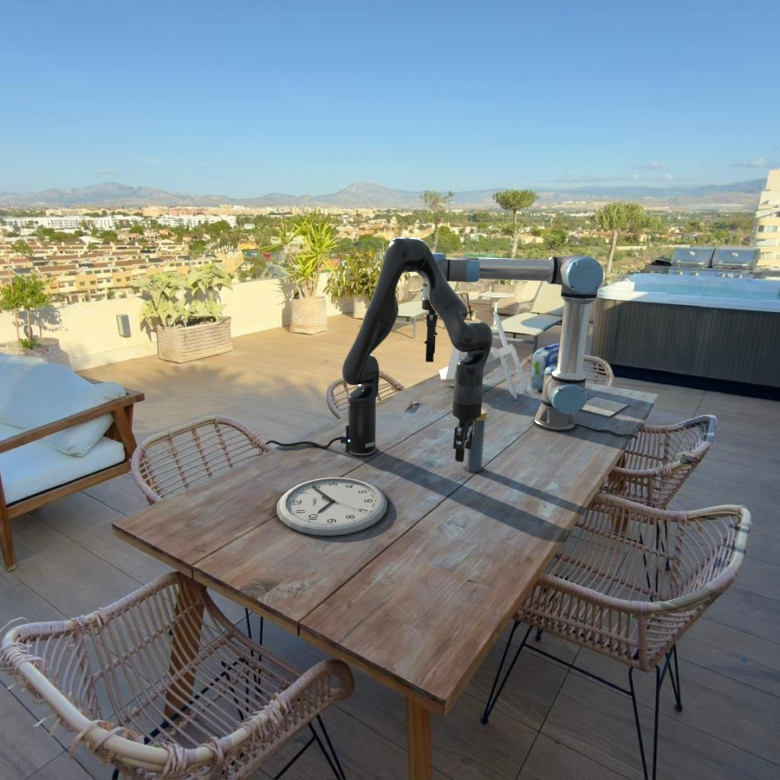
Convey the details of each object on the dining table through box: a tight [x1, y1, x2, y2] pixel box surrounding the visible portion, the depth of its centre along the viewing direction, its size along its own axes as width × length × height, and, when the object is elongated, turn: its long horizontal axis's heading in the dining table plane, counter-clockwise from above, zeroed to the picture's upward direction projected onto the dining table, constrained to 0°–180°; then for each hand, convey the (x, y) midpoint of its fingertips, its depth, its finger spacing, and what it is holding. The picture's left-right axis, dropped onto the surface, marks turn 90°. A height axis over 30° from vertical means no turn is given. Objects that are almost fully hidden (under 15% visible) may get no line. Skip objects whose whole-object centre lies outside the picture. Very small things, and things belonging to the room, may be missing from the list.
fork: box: [405, 396, 421, 411], centre depth 222 cm, size 3×16×2 cm, turn 160°
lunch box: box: [530, 343, 560, 391], centre depth 249 cm, size 26×11×21 cm, turn 134°
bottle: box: [466, 419, 486, 473], centre depth 163 cm, size 5×5×19 cm
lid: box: [476, 408, 488, 421], centre depth 160 cm, size 5×5×2 cm
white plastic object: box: [438, 310, 531, 400], centre depth 245 cm, size 37×45×31 cm
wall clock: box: [276, 476, 388, 537], centre depth 142 cm, size 30×2×30 cm
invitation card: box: [580, 396, 629, 418], centre depth 226 cm, size 21×1×15 cm
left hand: (463, 454), depth 141 cm, fingers open, 8 cm apart
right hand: (430, 357), depth 190 cm, fingers open, 13 cm apart
